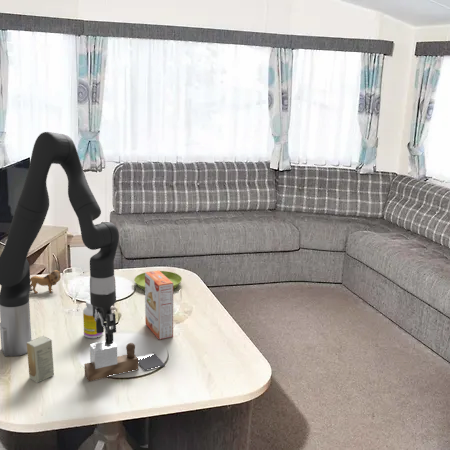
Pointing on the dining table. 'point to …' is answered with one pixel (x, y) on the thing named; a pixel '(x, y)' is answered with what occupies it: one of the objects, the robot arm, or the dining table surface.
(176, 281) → the saucer
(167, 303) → the cracker box
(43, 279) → the lion figurine
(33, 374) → the skincare box
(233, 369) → the dining table surface
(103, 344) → the lever cap
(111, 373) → the body
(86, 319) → the supplement bottle
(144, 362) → the rubber mat
